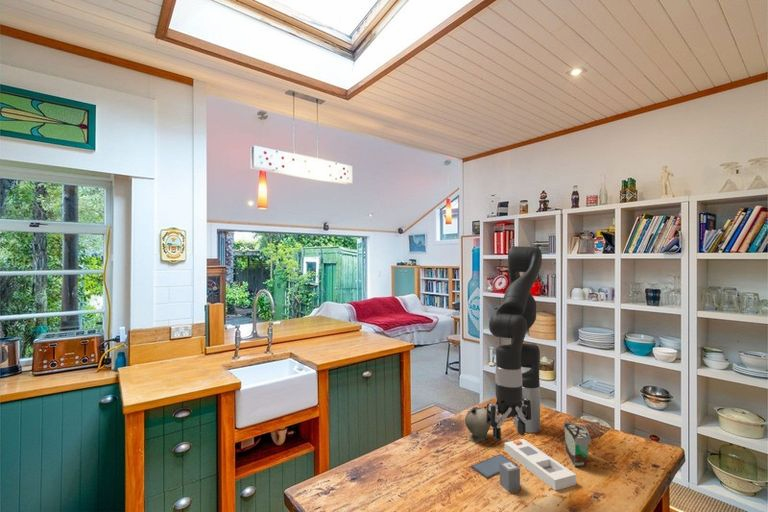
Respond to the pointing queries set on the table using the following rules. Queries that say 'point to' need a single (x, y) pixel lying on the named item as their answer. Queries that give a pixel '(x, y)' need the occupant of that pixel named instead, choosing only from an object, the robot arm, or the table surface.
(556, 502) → the table surface
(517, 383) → the robot arm
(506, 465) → the block
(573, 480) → the power strip
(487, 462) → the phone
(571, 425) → the food container
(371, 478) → the table surface
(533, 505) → the table surface
